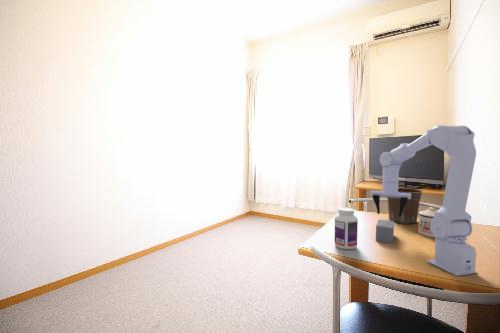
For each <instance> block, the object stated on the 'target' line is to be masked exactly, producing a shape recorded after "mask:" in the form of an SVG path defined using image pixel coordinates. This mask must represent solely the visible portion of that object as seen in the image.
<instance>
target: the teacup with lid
mask: <svg viewBox="0 0 500 333" xmlns="http://www.w3.org/2000/svg"><path fill="white" fill-rule="evenodd" d="M437 211H438V210H435V208H434V207H431V206H430V207H428V209H425V210H420V211H418V229H417V230H418V234H419V235H422V236H424V237H428V238H435V237H434V235H433V234H432V232H431V230H430V222H431V221H432V220H433V218H434V215H435V213H436V212H437ZM435 239H436V238H435Z"/></svg>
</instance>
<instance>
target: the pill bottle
mask: <svg viewBox="0 0 500 333" xmlns="http://www.w3.org/2000/svg"><path fill="white" fill-rule="evenodd" d="M337 212H338V213H337V214H336V215H335V216H334V245H335V246H336V247H337V248H339V249H341V250H355V249H356V248H357V247H358V222H359V221H358V217H357V216H356V215H355V209H354V208H350V207H338V210H337Z"/></svg>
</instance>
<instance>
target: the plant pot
mask: <svg viewBox="0 0 500 333" xmlns="http://www.w3.org/2000/svg"><path fill="white" fill-rule="evenodd" d="M398 192H400V193H409V194H411V199H408V201H407V203H406V204H405V206H404V208H403V210H402V214H401V216H399V209H400V198H394V197H386V199H387V206H388V207H387V208H388V210H387V211H388V221H394V223H398V224H402V225H403V224H404V225H411V224H416V223H417V222H418V216H419V214H418V213H419V207H420V201H421V197H422V193H423V192H424V191H423V190H421V189H416V188H408V187H398ZM387 196H389V195H387Z"/></svg>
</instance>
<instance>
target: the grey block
mask: <svg viewBox="0 0 500 333" xmlns="http://www.w3.org/2000/svg"><path fill="white" fill-rule="evenodd" d="M394 232H395V221H391V220H389V219H382V218H381V219H379V218H378V220H377V223H376V224H375V242H381V243H388V244H393V242H394V234H395V233H394Z"/></svg>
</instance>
